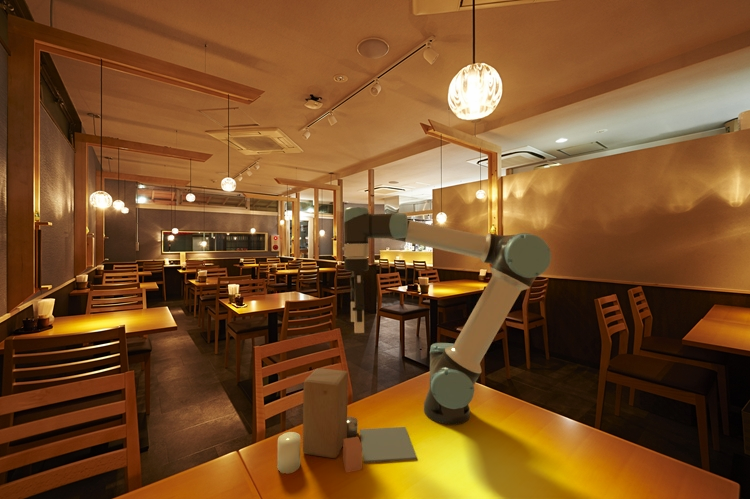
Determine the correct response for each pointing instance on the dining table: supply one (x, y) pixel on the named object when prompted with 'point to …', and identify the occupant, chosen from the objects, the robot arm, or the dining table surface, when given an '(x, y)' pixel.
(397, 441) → the mat
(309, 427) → the wooden block
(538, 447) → the dining table surface
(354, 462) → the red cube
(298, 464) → the cream rounded cylinder
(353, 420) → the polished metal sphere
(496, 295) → the robot arm
